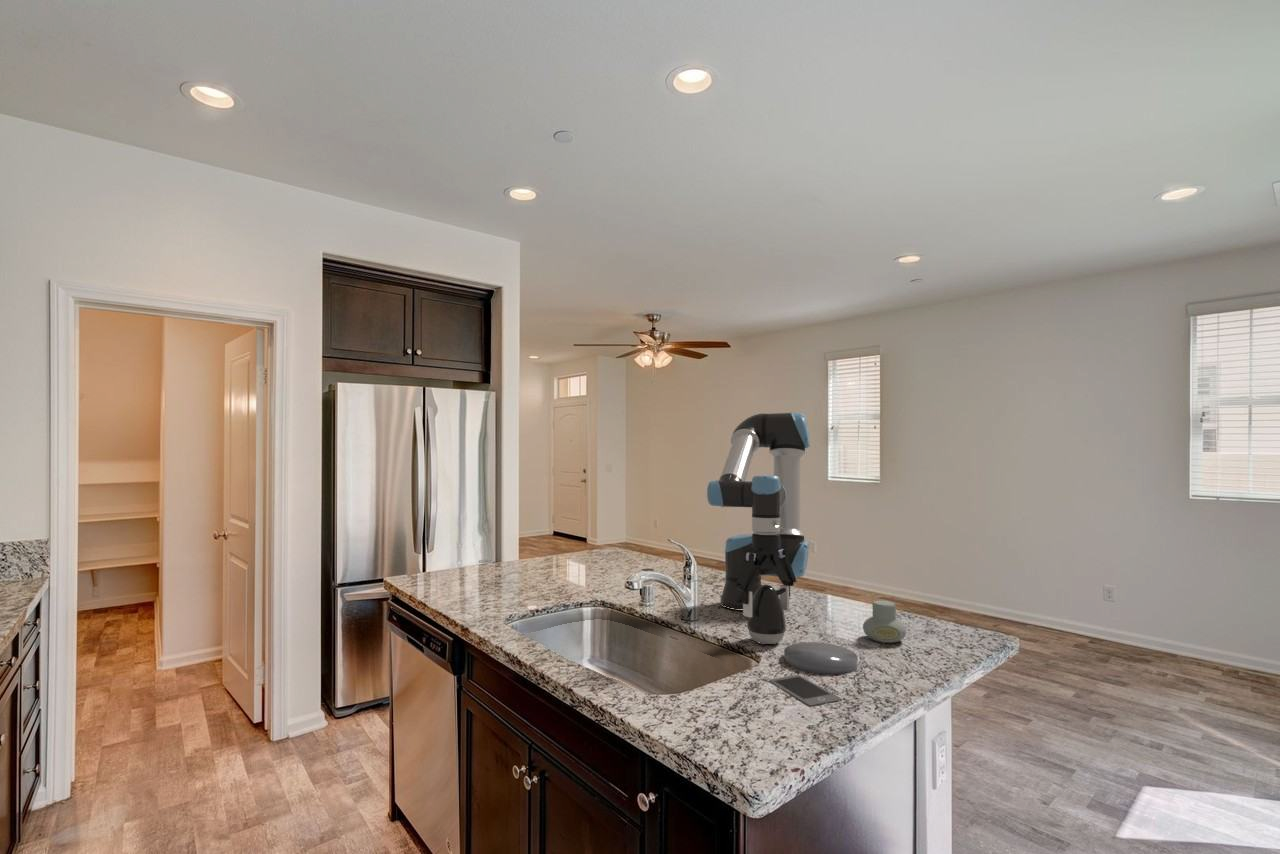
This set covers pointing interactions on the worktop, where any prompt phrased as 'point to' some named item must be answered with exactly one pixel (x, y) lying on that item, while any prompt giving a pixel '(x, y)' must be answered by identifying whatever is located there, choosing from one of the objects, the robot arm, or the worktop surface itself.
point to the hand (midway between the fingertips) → (766, 613)
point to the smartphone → (805, 690)
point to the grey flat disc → (820, 658)
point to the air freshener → (884, 623)
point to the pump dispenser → (767, 616)
